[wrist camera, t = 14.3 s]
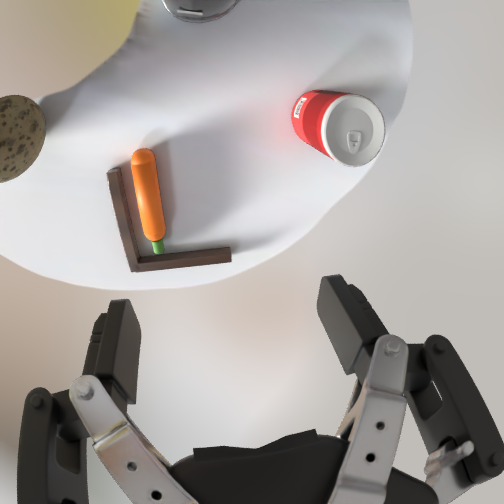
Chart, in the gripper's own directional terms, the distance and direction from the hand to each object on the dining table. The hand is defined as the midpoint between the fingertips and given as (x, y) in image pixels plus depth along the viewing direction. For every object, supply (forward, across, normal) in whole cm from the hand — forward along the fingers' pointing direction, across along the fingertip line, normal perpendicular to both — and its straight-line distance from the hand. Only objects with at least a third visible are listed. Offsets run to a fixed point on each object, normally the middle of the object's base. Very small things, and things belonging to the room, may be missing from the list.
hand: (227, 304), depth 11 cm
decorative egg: (+28, +25, -8) cm, 39 cm away
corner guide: (+28, +5, +9) cm, 30 cm away
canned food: (+28, -15, -4) cm, 32 cm away
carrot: (+28, +9, +6) cm, 30 cm away
